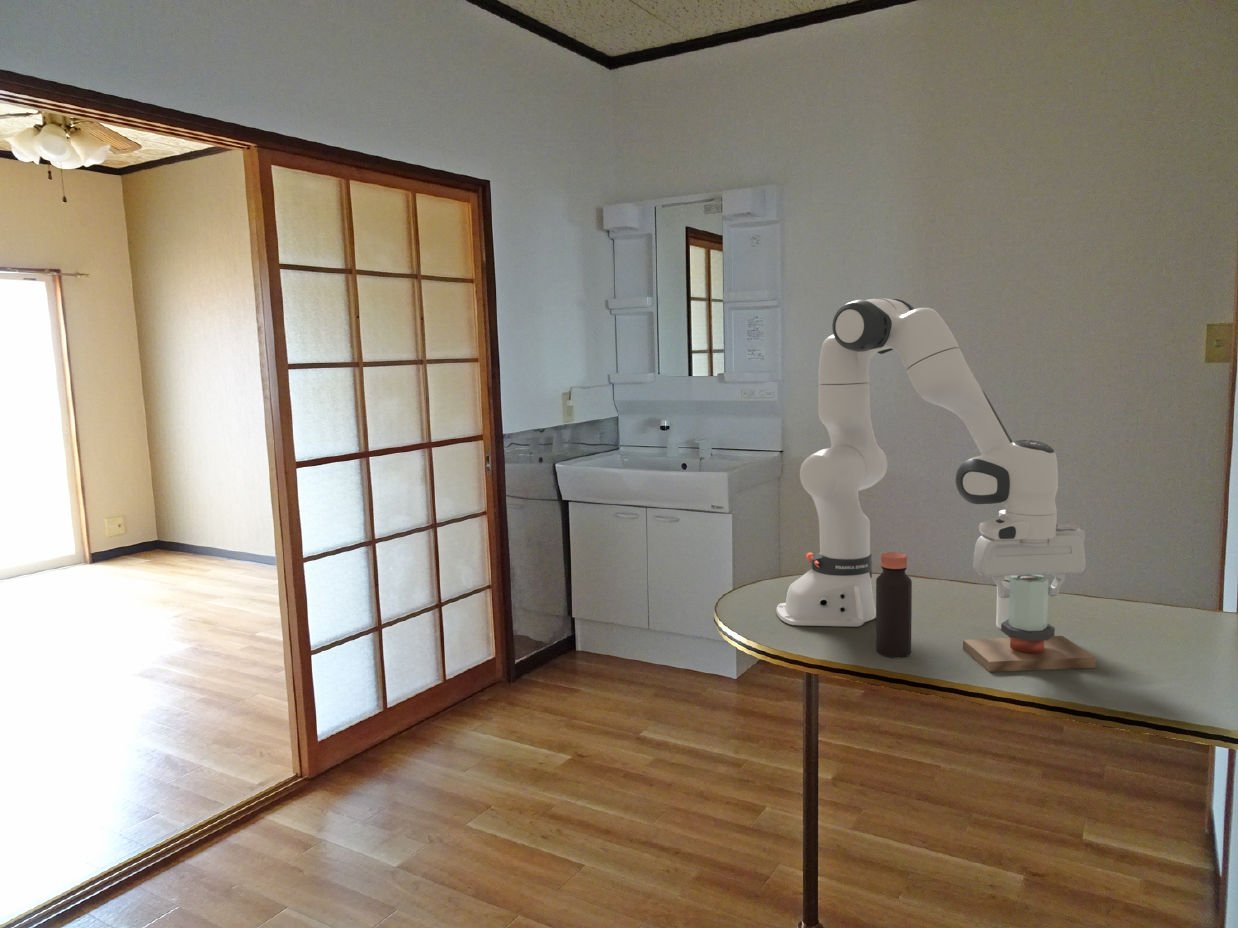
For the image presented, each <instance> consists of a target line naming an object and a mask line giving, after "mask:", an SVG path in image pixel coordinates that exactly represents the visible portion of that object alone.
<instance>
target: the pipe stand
mask: <svg viewBox="0 0 1238 928" xmlns="http://www.w3.org/2000/svg"><path fill="white" fill-rule="evenodd" d="M1020 579H1021V580H1027V581H1038V578H1036V577H1032V576H1022V577H1020ZM962 650H963V651H964V652H965V653H966V654H968V655H969V656H970V658H972V659H973V660H975V661H976V662H977V663H978V664H979V665H980V666H982V667H983V668H984V669H985V670H986V671H987V672H988V673H992V672H993V673H994V672H995V673H997V672H1021V671H1041V670H1042V671H1043V670H1045V671H1046V670H1068V669H1070V670H1071V669H1090V668H1091V669H1092V668H1096V661H1097V659H1096V656H1094V655H1093V654H1091V653H1090V652H1088V651H1086V650H1085V649H1084V648H1082V647H1080V646H1079V645H1077V644H1076V643H1075V642H1073V641H1072V640H1070V639H1069V638H1067V637H1065V636H1064V635H1054V636H1053V637H1051V638H1050V639H1049V640H1042V641H1026V640H1022V639H1017V638H1012V637H1000V638H999V637H998V638H973V639H963V640H962Z"/></svg>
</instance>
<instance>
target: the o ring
mask: <svg viewBox="0 0 1238 928" xmlns="http://www.w3.org/2000/svg"><path fill="white" fill-rule="evenodd" d="M1055 629H1056V628H1055V626H1053V625H1051V623H1048V622H1047V627H1046V628H1045V629H1044V630H1042V631H1026V630H1021V629H1016V628H1014V627H1012V626H1011V625H1009V619H1007V620H1006V621H1004V622H1003V623H1001V629H1000V631H1001V632H1002V633H1003V634H1005V635H1006V636H1007V637H1008V638H1010V637H1012V638H1017V639H1022V640H1026V641H1042V640H1049V639H1050V638H1051V637H1053V636H1055Z"/></svg>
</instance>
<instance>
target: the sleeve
mask: <svg viewBox="0 0 1238 928" xmlns="http://www.w3.org/2000/svg"><path fill="white" fill-rule="evenodd" d="M1022 576H1032V577H1036V578H1038V581H1027V580H1021V579H1020V577H1022ZM1049 583H1050V582H1049V578H1048V577H1046V576H1044V575H1043V574H1041V575H1015V576H1010V593H1009V595H1010V597H1009V625H1011V626H1012V627H1014V628H1016V629H1021V630H1026V631H1042V630H1044V629H1045V628H1046V627H1047V623H1048V613H1049V612H1048V608H1049V607H1048V606H1049V595H1048V585H1049Z"/></svg>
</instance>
